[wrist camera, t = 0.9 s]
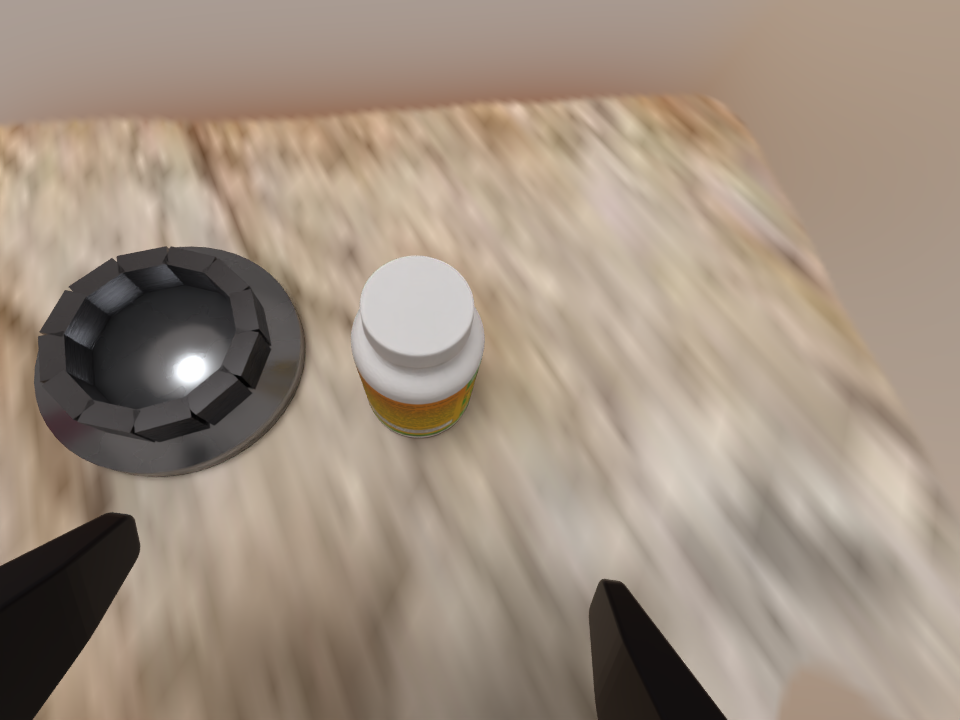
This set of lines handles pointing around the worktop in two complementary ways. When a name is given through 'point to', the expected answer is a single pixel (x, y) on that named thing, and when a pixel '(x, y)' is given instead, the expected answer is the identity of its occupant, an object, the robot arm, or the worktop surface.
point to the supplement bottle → (417, 345)
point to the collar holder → (168, 360)
